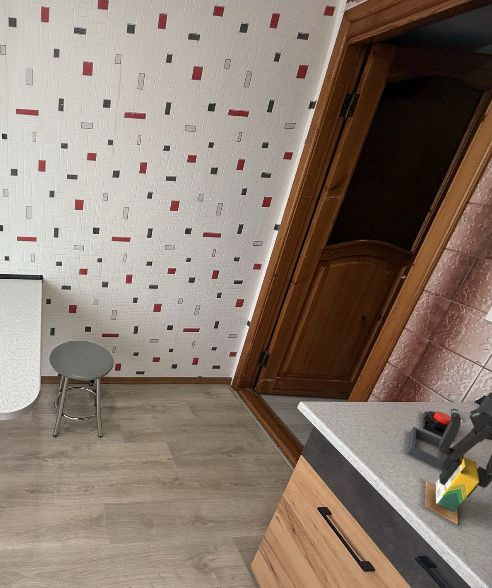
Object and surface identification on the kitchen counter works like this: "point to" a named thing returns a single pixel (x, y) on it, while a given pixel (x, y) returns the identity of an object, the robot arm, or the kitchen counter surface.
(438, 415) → the release button
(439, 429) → the control block
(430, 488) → the mat
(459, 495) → the crayon box
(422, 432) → the dock
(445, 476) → the robot arm
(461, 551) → the kitchen counter surface
